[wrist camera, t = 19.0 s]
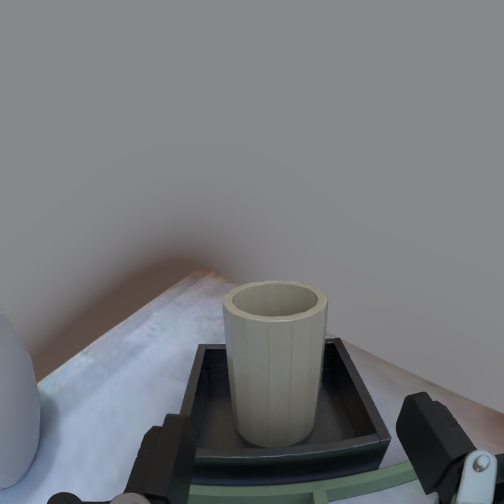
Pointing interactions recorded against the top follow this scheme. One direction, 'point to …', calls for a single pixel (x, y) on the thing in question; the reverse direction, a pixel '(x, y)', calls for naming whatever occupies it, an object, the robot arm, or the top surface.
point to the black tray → (291, 457)
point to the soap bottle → (16, 406)
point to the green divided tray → (306, 489)
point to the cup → (275, 359)
